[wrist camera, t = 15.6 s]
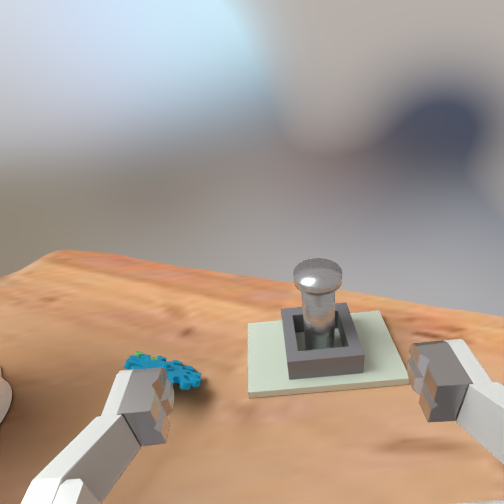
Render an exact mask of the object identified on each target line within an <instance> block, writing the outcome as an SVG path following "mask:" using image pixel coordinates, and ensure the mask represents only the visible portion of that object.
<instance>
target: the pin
mask: <svg viewBox="0 0 504 504" xmlns="http://www.w3.org/2000/svg"><path fill="white" fill-rule="evenodd" d="M294 283H295V286H296V287H297V288H298V289H299V290H300V291H302V307H303V323H304V339H305V350H316V349H327V348H335V291H336V290H337V289H338V288H339V287H340V286H341V283H342V269H341V268H340V266H339V265H338V264H336V263H335V262H333V261H331V260H327V259H321V258H314V259H308V260H305V261H303V262H301V263H299V264H298V265H297V266H296V267H295V269H294Z"/></svg>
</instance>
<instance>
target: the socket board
mask: <svg viewBox="0 0 504 504" xmlns="http://www.w3.org/2000/svg"><path fill="white" fill-rule="evenodd" d="M281 314H282V320H278V321H268V322H258V323H248V394H249V398H258V397H270V396H281V395H292V394H304V393H315V392H327V391H338V390H350V389H361V388H373V387H384V386H395V385H407V384H409V378H408V374H407V370H406V368H405V366H404V364H403V362H402V359H401V357H400V355H399V353H398V351H397V349H396V346H395V344H394V342H393V340H392V338H391V335H390V333H389V331H388V329H387V327H386V325H385V322H384V320H383V318H382V316H381V314H380V312H379V310H378V311H368V312H358V313H350V312H349V309H348V306H347V303H336V304H335V348H327V349H316V350H305V339H304V323H303V307H297V308H287V309H281Z"/></svg>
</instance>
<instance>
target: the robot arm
mask: <svg viewBox="0 0 504 504" xmlns="http://www.w3.org/2000/svg"><path fill="white" fill-rule="evenodd" d="M409 352H410V354H411V356H412V357H411V358H410V359H409V360H408V362H407V374H408V378H409V382H410V384H411V386H412V389H413V390H414V391H415V392H417V393H418V394H419V395H420V399H419V404H420V406H421V409H422V411H423V413H424V415H425V417H426V419H427V421H428V422H444V421H456V423H458V424H459V425H460V426H461V427H462V428H463V429H464V430H465V431H467V432H468V433H469V434H470V435H471V436H472V437H473V438H474V439H476V440H477V441H478V442H479V443H480V444H481V445H482V446H483V447H485V448H486V449H487V450H488V451H489V452H490V453H491V454H492V455H494V456H495V457H496V458H497V459H498V460H499V461H500V462H501V463H503V464H504V385H502V384H500V383H499V382H492V380H491V379H490V377H489V376H488V374H487V373H486V371H485V370H484V369H483V367H482V366H481V364H480V363H479V361H478V360H477V359H476V357H475V356H474V354H473V353H472V351H471V350H470V349H469V347H468V346H467V344H466V343H465V341H463V340H462V339H455V340H445V341H443V340H441V341H432V342H422V343H413V344H412V345H411V346H410V351H409ZM167 376H168V373H167V371H166V369H165V368H149V369H134V370H123V371H119V373H118V374H117V375H116V378H115V380H114V383H113V386H112V388H111V391H110V393H109V396H108V399H107V401H106V404H105V407H104V409H103V412H102V415H101V416H98V417H96V418H95V419H94V420H93V421H92V422H91V423H90V424H89V425H88V426H87V427H86V428H85V429H84V430H83V431H82V432H81V433H80V434H79V435H78V436H77V437H76V438H75V439H74V440H72V441H71V442H70V443H69V444H68V445H67V446H66V447H65V448H64V449H63V450H62V451H61V452H60V453H59V454H58V455H57V456H56V457H55V458H54V459H53V460H52V461H51V462H50V463H49V464H48V465H47V466H46V467H45V468H44V469H43V470H42V471H41V472H40V473H39V474H38V475H37V476H36V477H35V478H34V479H33V480H32V482H31V484H30V486H29V488H28V490H27V492H26V494H25V496H24V498H23V500H22V503H21V504H101V503H102V501H103V500H104V499H105V497H106V496H107V494H108V493H109V492H110V490H111V489H112V488H113V486H114V485H115V483H116V482H117V481H118V479H119V478H120V476H121V475H122V474H123V472H124V471H125V469H126V468H127V467H128V465H129V464H130V462H131V461H132V460H133V458H134V457H135V455H136V454H137V453H138V451H139V450H140V448H141V447H140V446H147V445H156V444H165V443H166V442H167V437H168V432H169V427H170V422H169V420H168V415H169V414H170V413H171V412H172V411H173V405H174V389H173V385H172V383H171V382H170V381H169V380H167ZM11 400H12V389H11V386H10V385H9V383H8V382H7V381H6V380H4V379H3V378H2V376H1V367H0V423H1V422H2V420H3V418H4V417H5V415H6V413H7V411H8V409H9V406H10V404H11ZM451 504H504V500H496V501H481V502H466V503H451Z"/></svg>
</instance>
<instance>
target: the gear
mask: <svg viewBox="0 0 504 504" xmlns="http://www.w3.org/2000/svg"><path fill="white" fill-rule="evenodd" d="M166 359H167V358H165V357H162V356H158V357H157V358H155V357H151V356H150V355H145V354H143V353H142V352H135V356H130V357H129V359H128V360H126V363H125V366H124V368H126V369H130V370H134V369H149V368H165V369H166V371H167V373H168V376H167V380H169V381H170V382H171V383H172V385H174V383H178V384H180V386H179V388H180V389H183V390H190V387H191V386H192V387H199V386H200V383H201V379H200V377H201V374H200V373H197V372H194V370H195V369H194V368H193V367H191V366H182V362H179V361H177V360H174V361H172V362H166Z"/></svg>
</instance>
